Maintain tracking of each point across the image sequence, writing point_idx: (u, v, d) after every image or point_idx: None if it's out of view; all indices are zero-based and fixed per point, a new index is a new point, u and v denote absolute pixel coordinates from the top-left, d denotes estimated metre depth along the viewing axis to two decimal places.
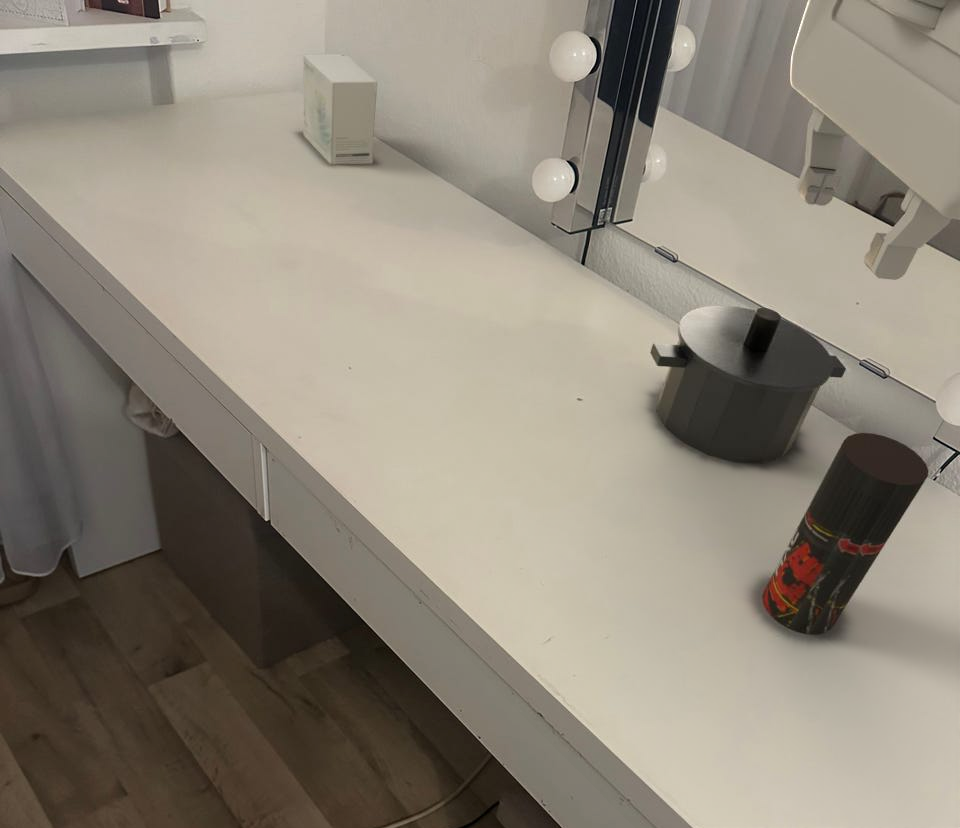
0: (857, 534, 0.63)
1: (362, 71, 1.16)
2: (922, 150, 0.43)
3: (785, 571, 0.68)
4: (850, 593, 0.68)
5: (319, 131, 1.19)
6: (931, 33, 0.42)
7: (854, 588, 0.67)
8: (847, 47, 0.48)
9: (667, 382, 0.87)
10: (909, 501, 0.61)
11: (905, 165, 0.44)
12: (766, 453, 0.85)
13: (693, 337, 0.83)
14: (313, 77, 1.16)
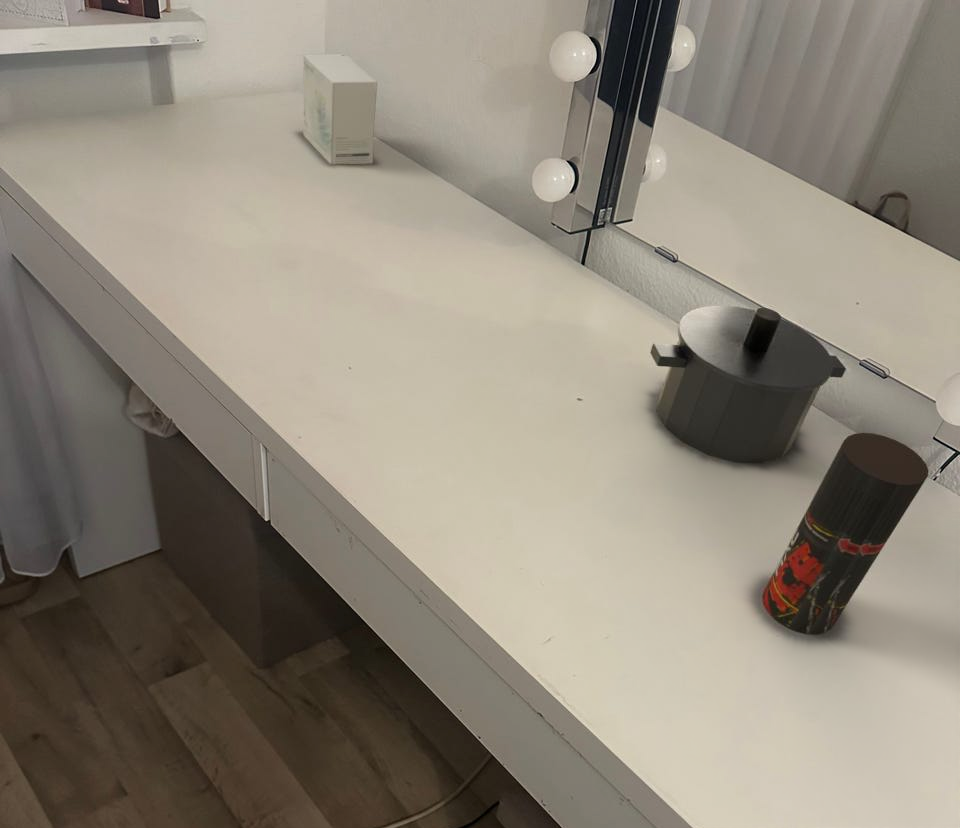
0: (857, 534, 0.63)
1: (362, 71, 1.16)
2: None
3: (785, 571, 0.68)
4: (850, 593, 0.68)
5: (319, 131, 1.19)
6: None
7: (854, 588, 0.67)
8: None
9: (667, 382, 0.87)
10: (909, 501, 0.61)
11: None
12: (766, 453, 0.85)
13: (693, 337, 0.83)
14: (313, 77, 1.16)
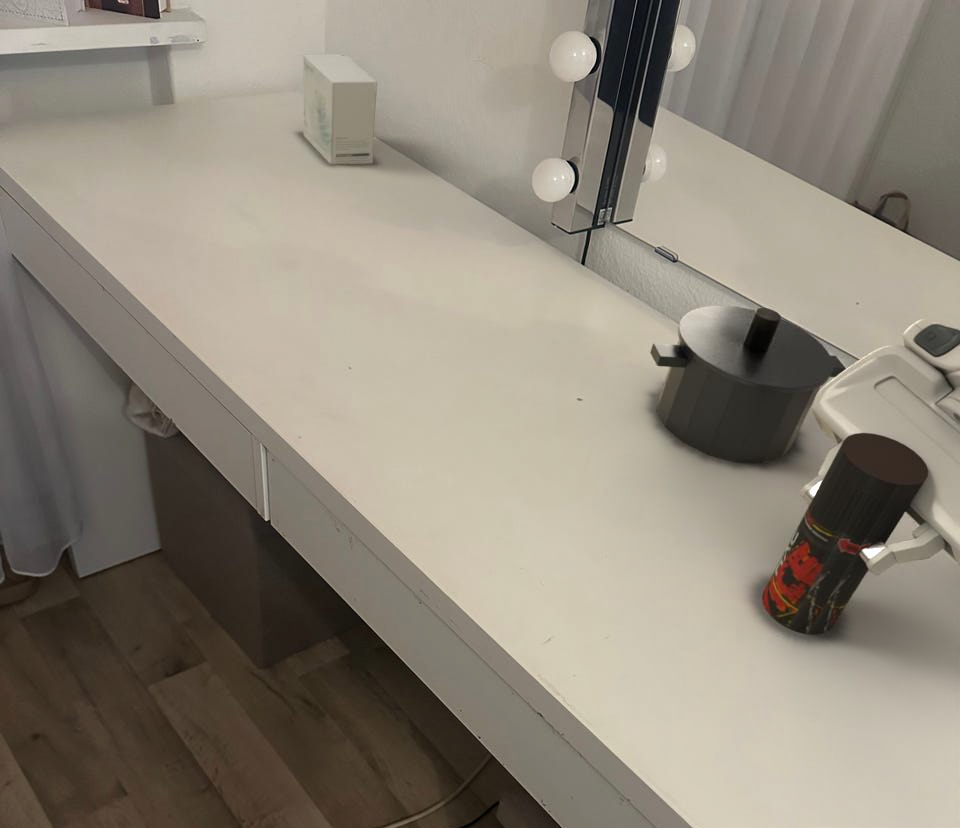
0: (857, 534, 0.63)
1: (362, 71, 1.16)
2: None
3: (785, 571, 0.68)
4: (850, 593, 0.68)
5: (319, 131, 1.19)
6: None
7: (854, 588, 0.67)
8: (889, 414, 0.65)
9: (667, 382, 0.87)
10: (909, 501, 0.61)
11: (944, 518, 0.60)
12: (766, 453, 0.85)
13: (693, 337, 0.83)
14: (313, 77, 1.16)
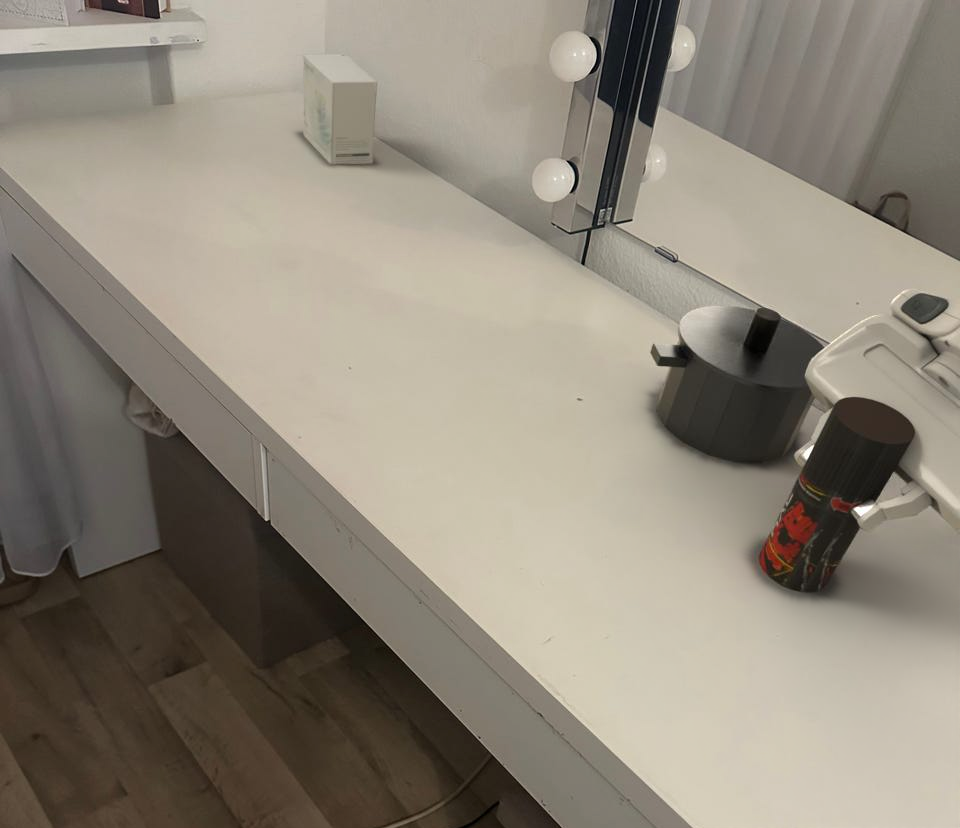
0: (848, 493, 0.66)
1: (362, 71, 1.16)
2: (949, 473, 0.63)
3: (781, 531, 0.72)
4: (842, 551, 0.71)
5: (319, 131, 1.19)
6: None
7: (846, 546, 0.71)
8: (878, 379, 0.69)
9: (667, 382, 0.87)
10: (897, 460, 0.65)
11: (930, 476, 0.64)
12: (766, 453, 0.85)
13: (693, 337, 0.83)
14: (313, 77, 1.16)
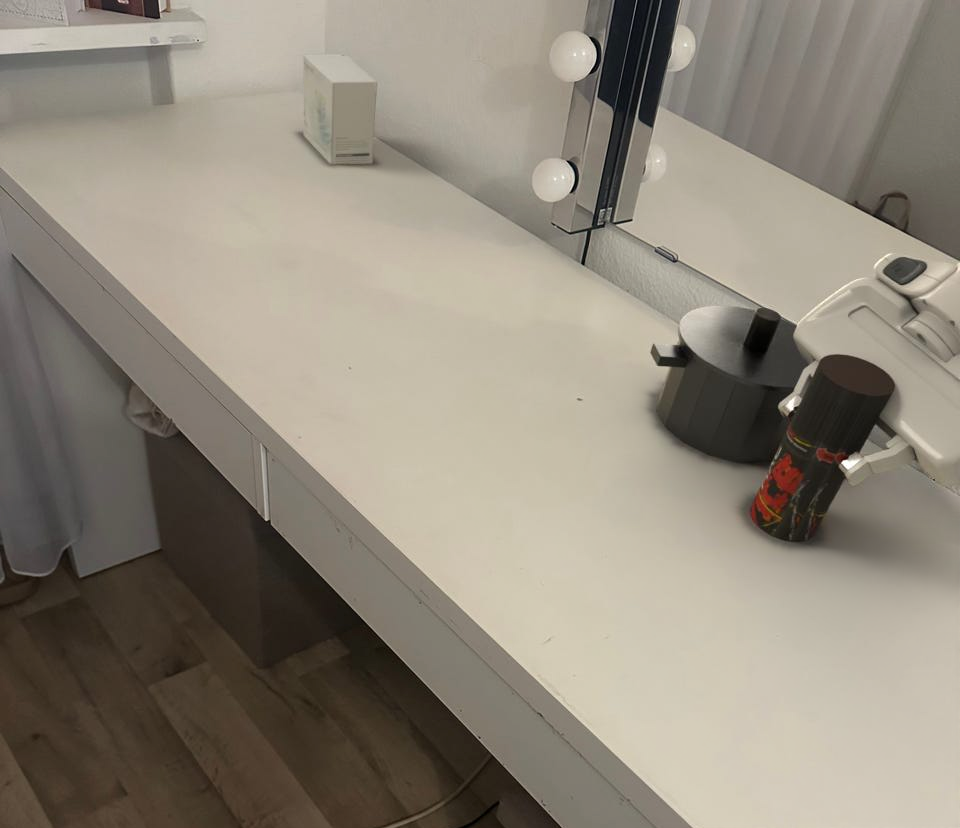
0: (832, 443, 0.71)
1: (362, 71, 1.16)
2: (925, 423, 0.67)
3: (770, 483, 0.76)
4: (828, 502, 0.75)
5: (319, 131, 1.19)
6: (943, 363, 0.68)
7: (831, 497, 0.75)
8: (861, 338, 0.73)
9: (667, 382, 0.87)
10: (878, 412, 0.69)
11: (908, 425, 0.68)
12: (766, 453, 0.85)
13: (693, 337, 0.83)
14: (313, 77, 1.16)
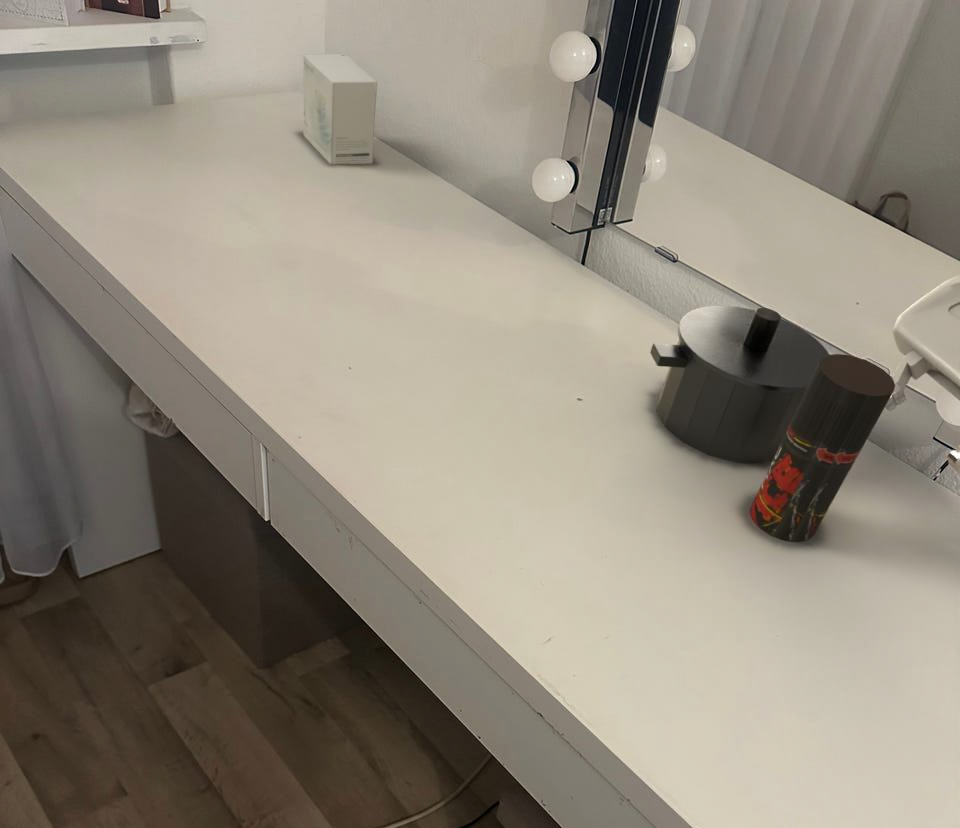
0: (833, 443, 0.71)
1: (362, 71, 1.16)
2: None
3: (770, 483, 0.76)
4: (828, 502, 0.75)
5: (319, 131, 1.19)
6: None
7: (831, 497, 0.75)
8: None
9: (667, 382, 0.87)
10: (878, 412, 0.69)
11: None
12: (766, 453, 0.85)
13: (693, 337, 0.83)
14: (313, 77, 1.16)
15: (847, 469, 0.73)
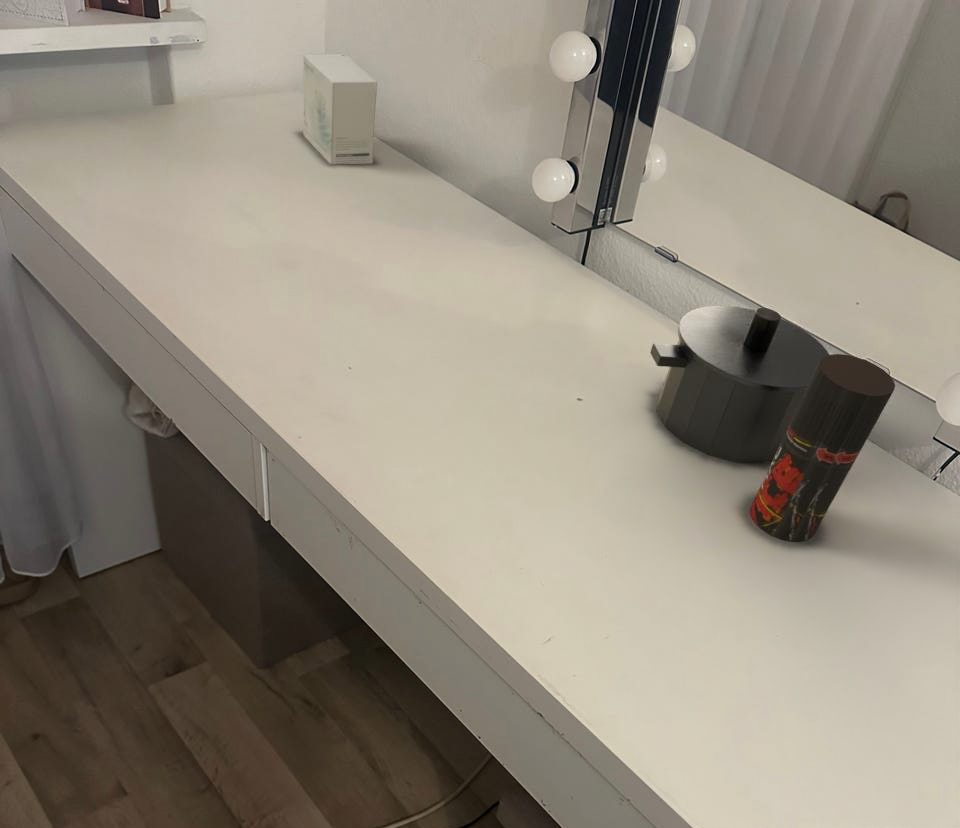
0: (832, 443, 0.71)
1: (362, 71, 1.16)
2: None
3: (770, 483, 0.76)
4: (828, 502, 0.75)
5: (319, 131, 1.19)
6: None
7: (831, 497, 0.75)
8: None
9: (667, 382, 0.87)
10: (878, 412, 0.69)
11: None
12: (766, 453, 0.85)
13: (693, 337, 0.83)
14: (313, 77, 1.16)
15: (847, 469, 0.73)
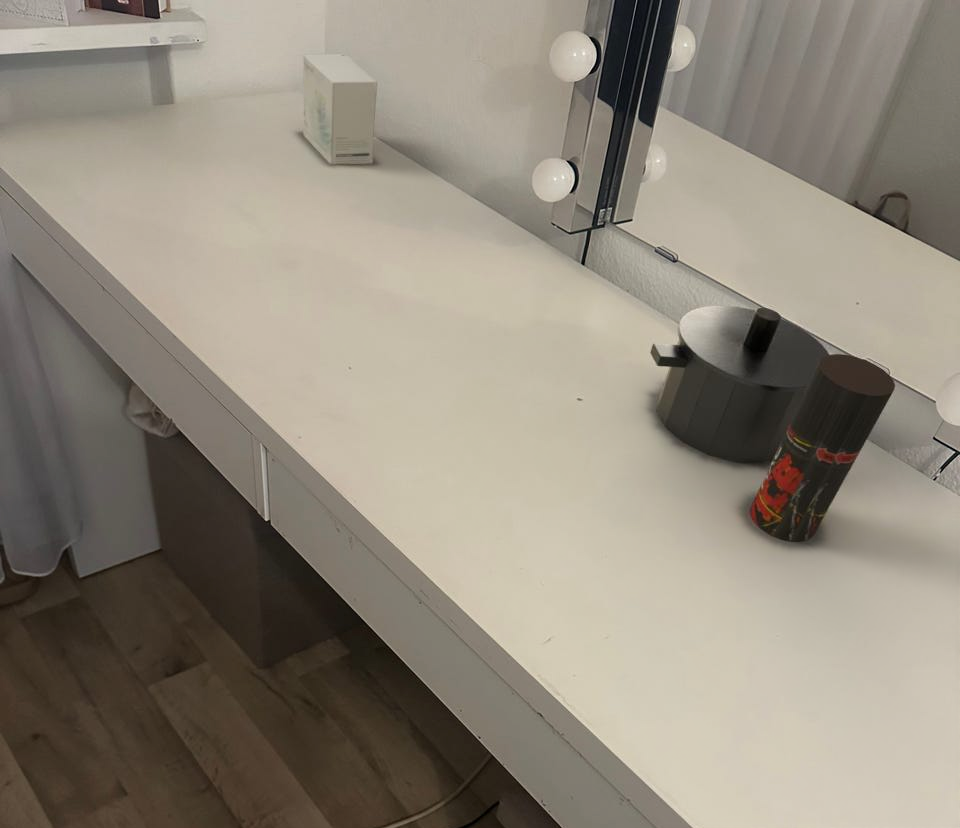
0: (832, 443, 0.71)
1: (362, 71, 1.16)
2: None
3: (770, 483, 0.76)
4: (828, 502, 0.75)
5: (319, 131, 1.19)
6: None
7: (831, 497, 0.75)
8: None
9: (667, 382, 0.87)
10: (878, 412, 0.69)
11: None
12: (766, 453, 0.85)
13: (693, 337, 0.83)
14: (313, 77, 1.16)
15: (847, 469, 0.73)
